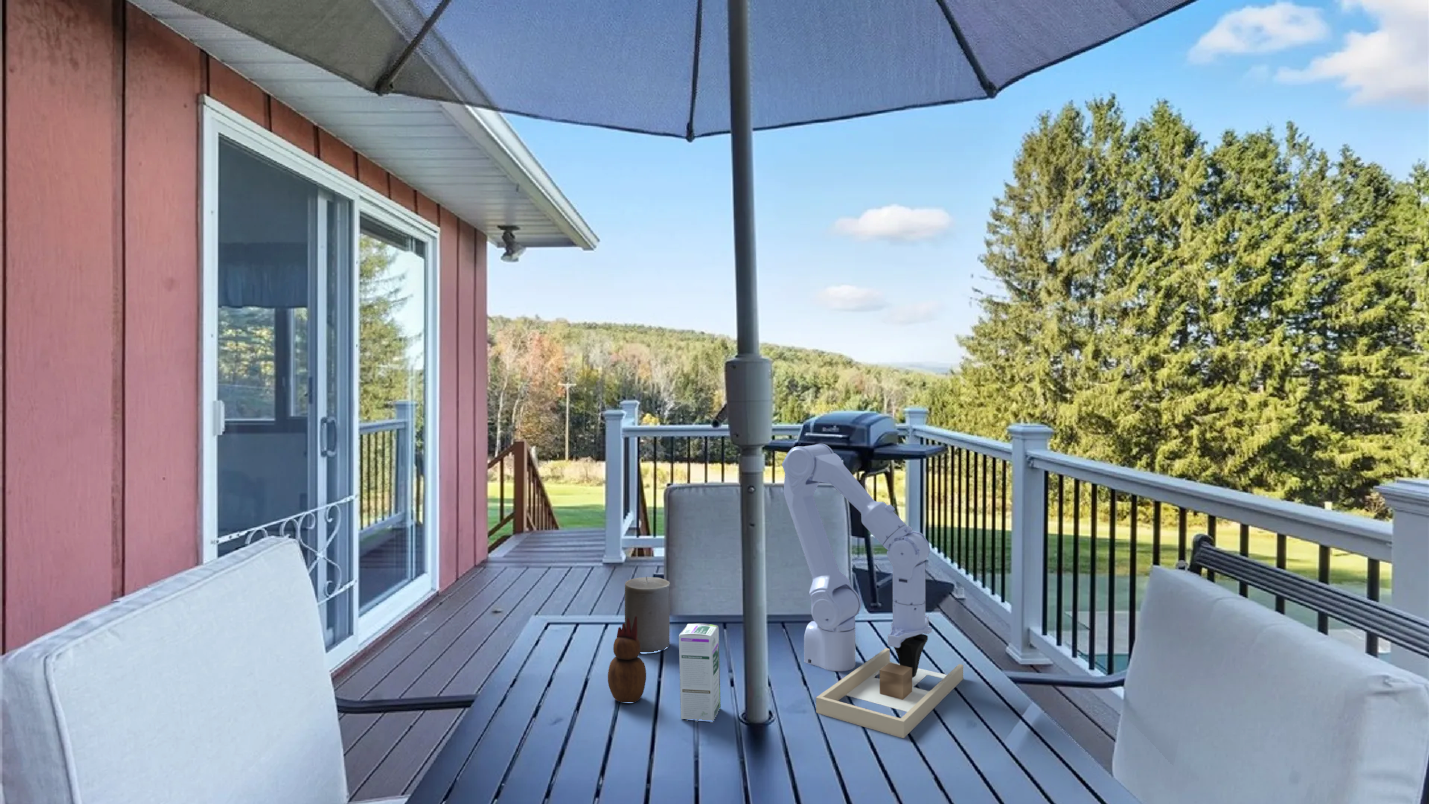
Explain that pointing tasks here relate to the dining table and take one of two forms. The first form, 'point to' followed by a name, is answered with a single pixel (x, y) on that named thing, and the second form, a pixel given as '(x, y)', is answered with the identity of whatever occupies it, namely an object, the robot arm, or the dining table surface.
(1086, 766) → the dining table surface
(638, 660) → the wooden figurine
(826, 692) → the board
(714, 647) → the syrup box
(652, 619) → the pillar candle
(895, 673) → the walnut block
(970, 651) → the dining table surface
